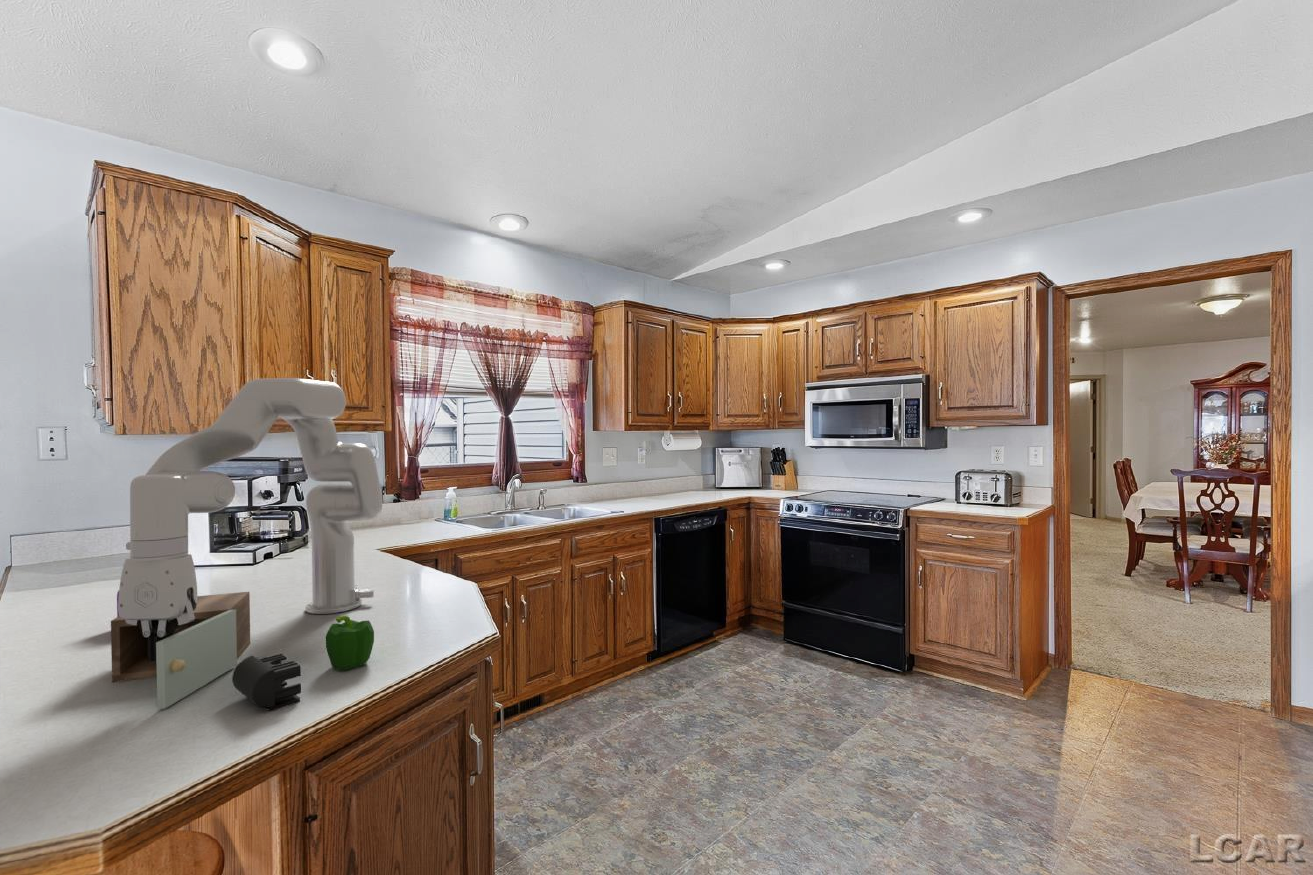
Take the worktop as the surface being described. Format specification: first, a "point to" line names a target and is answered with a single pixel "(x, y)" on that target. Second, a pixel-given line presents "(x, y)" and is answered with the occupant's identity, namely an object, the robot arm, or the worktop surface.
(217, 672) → the door
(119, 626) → the cabinet
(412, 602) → the worktop surface
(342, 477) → the robot arm
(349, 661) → the bell pepper
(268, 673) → the end cap
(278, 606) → the worktop surface
